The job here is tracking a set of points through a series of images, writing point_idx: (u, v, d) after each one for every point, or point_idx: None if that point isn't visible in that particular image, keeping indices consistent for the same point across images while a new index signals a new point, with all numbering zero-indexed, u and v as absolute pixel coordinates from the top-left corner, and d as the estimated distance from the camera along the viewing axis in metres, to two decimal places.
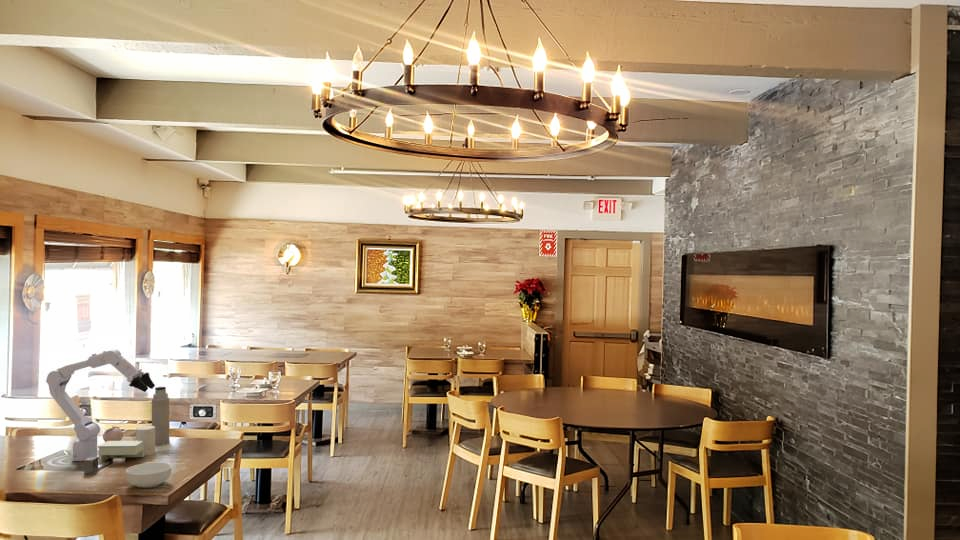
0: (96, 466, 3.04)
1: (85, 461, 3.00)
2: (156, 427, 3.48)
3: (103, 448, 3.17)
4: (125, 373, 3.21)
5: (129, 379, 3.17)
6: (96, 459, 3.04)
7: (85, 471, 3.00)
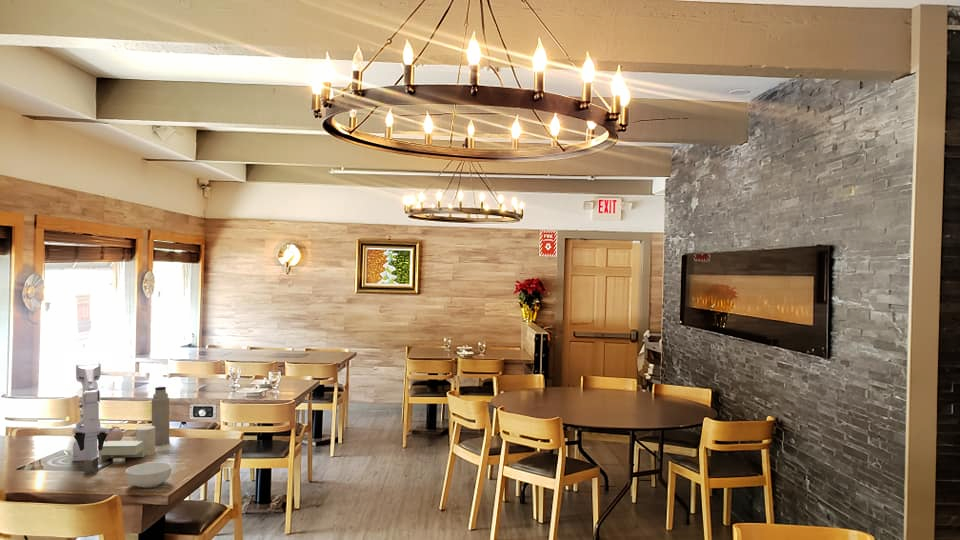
0: (96, 466, 3.04)
1: (85, 461, 3.00)
2: (156, 427, 3.48)
3: (103, 448, 3.17)
4: None
5: None
6: (96, 459, 3.04)
7: (85, 471, 3.00)
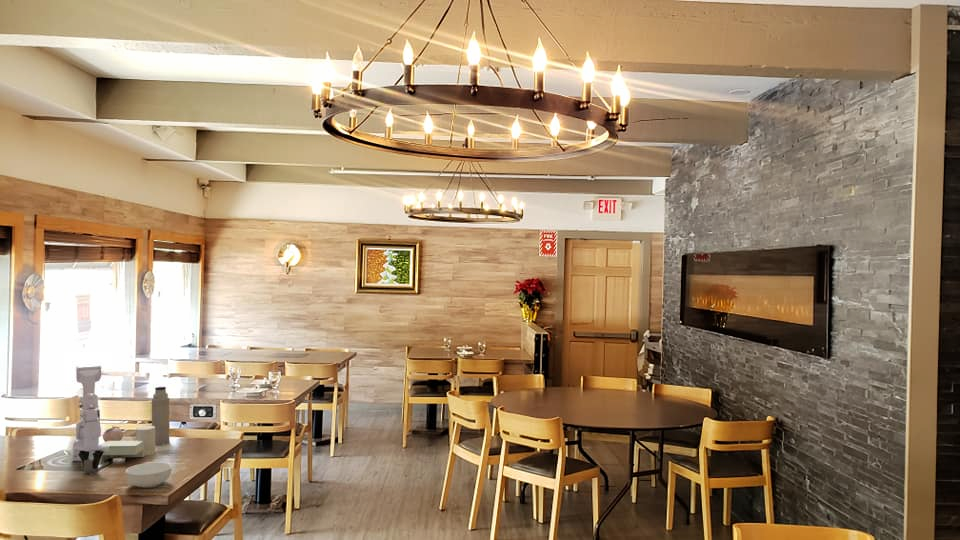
0: None
1: (85, 461, 3.00)
2: (156, 427, 3.48)
3: None
4: None
5: None
6: None
7: (85, 471, 3.00)
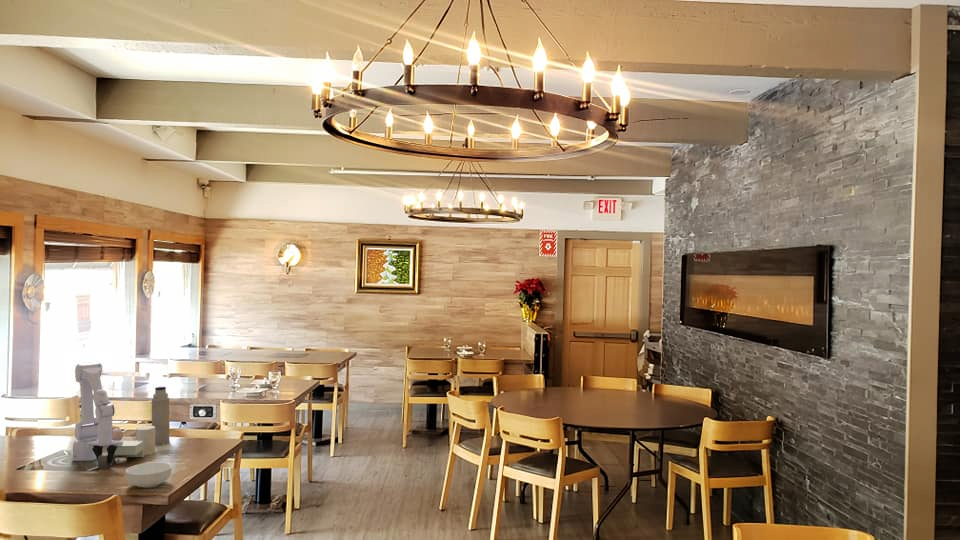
0: None
1: (99, 457, 3.07)
2: (156, 427, 3.48)
3: (103, 448, 3.17)
4: None
5: None
6: None
7: (99, 466, 3.07)
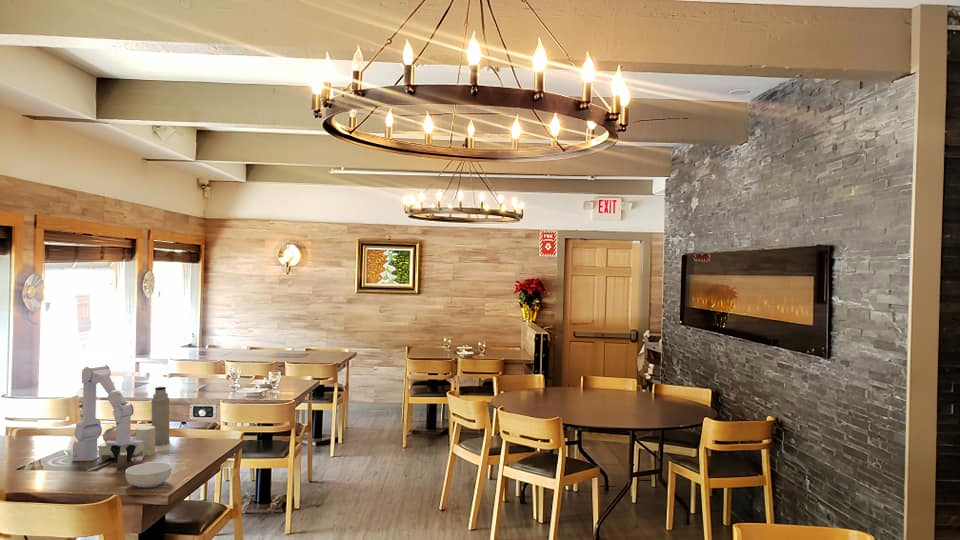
0: None
1: (118, 456, 3.08)
2: (156, 427, 3.48)
3: (103, 448, 3.17)
4: None
5: None
6: None
7: (118, 466, 3.08)
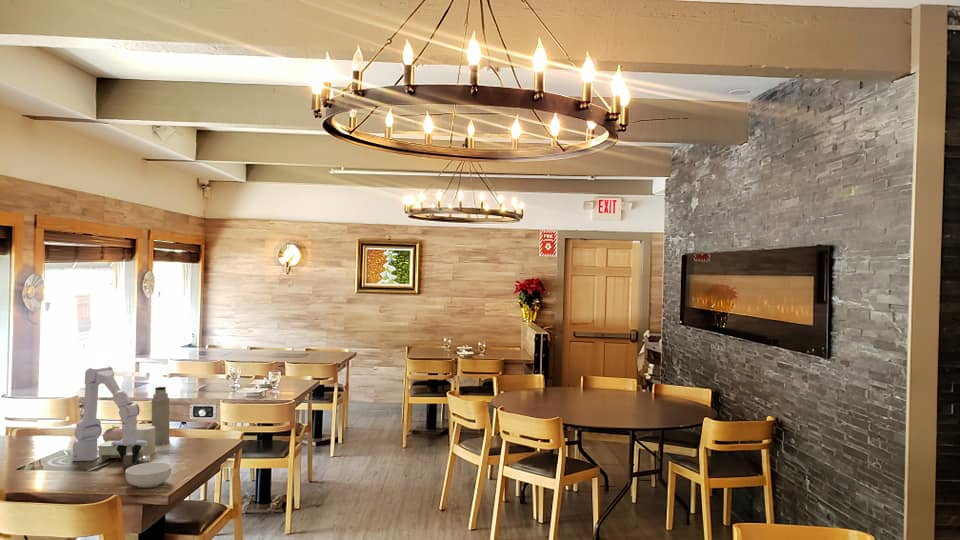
0: None
1: (124, 456, 3.08)
2: (156, 427, 3.48)
3: (103, 448, 3.17)
4: None
5: None
6: None
7: (124, 466, 3.08)
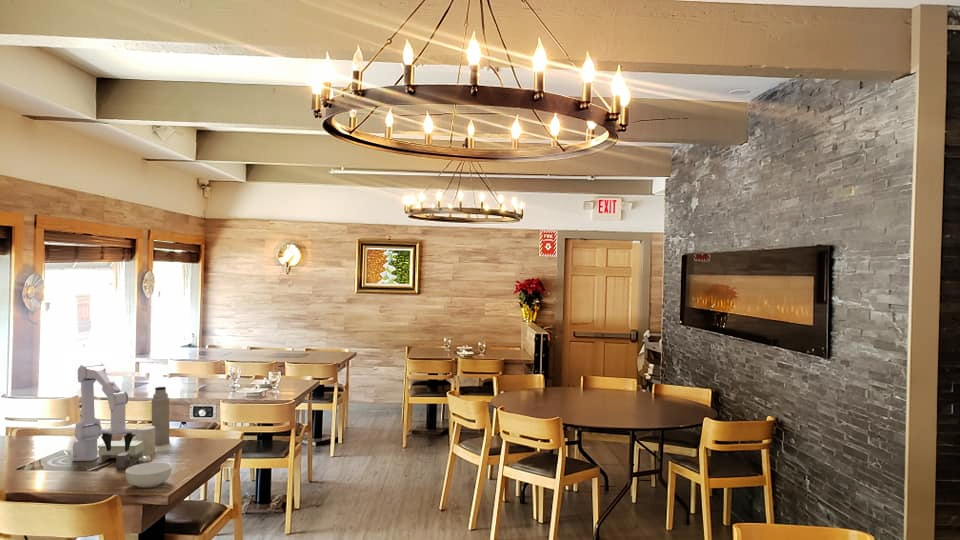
0: (128, 461, 3.11)
1: (117, 457, 3.07)
2: (156, 427, 3.48)
3: (103, 448, 3.17)
4: None
5: None
6: (128, 454, 3.11)
7: (117, 466, 3.07)
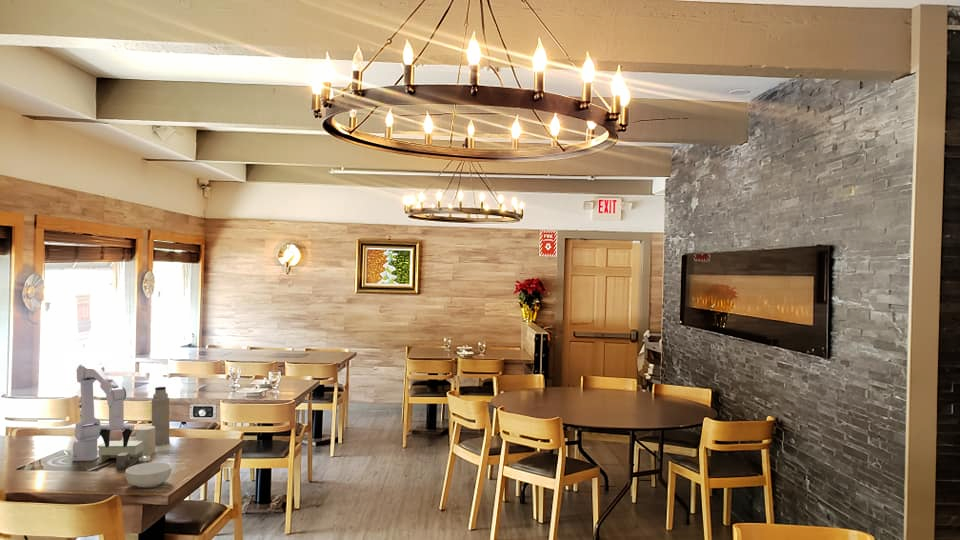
0: (128, 461, 3.11)
1: (117, 457, 3.07)
2: (156, 427, 3.48)
3: (103, 448, 3.17)
4: None
5: None
6: (128, 454, 3.11)
7: (117, 466, 3.07)
